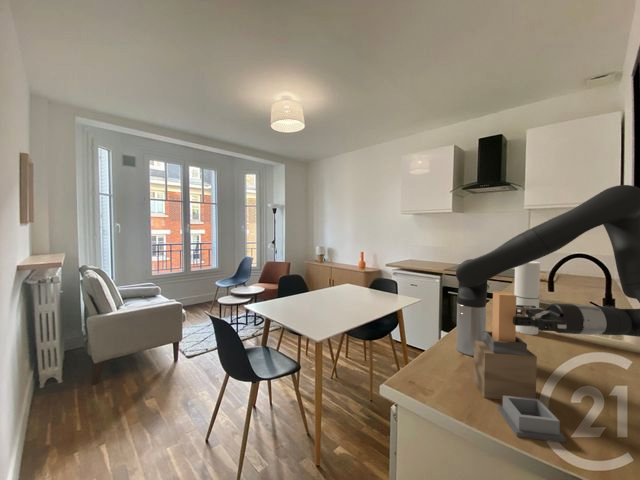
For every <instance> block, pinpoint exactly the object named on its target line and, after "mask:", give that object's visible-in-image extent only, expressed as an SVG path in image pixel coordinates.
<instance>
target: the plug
mask: <svg viewBox="0 0 640 480" xmlns="http://www.w3.org/2000/svg"><path fill="white" fill-rule="evenodd" d="M514 316H516V295H514V293H513V292H510V291H492V323H491V324H492V327H491V328H492V329H491V332H492V338H494V339H495V340H496V341H505V342H515V337H516V336H517V335H516V333H517V331H516V325H514V324H513V317H514Z"/></svg>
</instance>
